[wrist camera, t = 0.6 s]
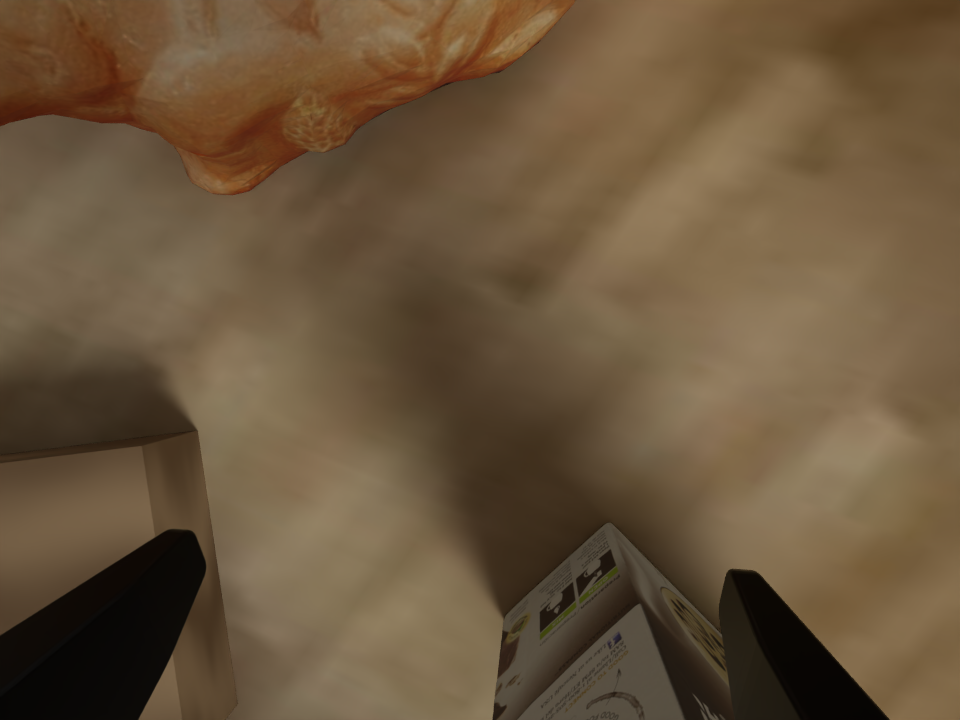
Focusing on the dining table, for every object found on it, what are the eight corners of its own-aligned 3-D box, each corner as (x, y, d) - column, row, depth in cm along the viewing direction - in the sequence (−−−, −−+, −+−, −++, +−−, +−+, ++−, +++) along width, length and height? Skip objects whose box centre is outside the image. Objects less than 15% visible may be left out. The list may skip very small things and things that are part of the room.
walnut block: (242, 698, 26) (188, 763, 22) (-4, 716, 27) (-97, 781, 23) (203, 428, 26) (141, 445, 22) (-44, 459, 27) (-145, 480, 23)
